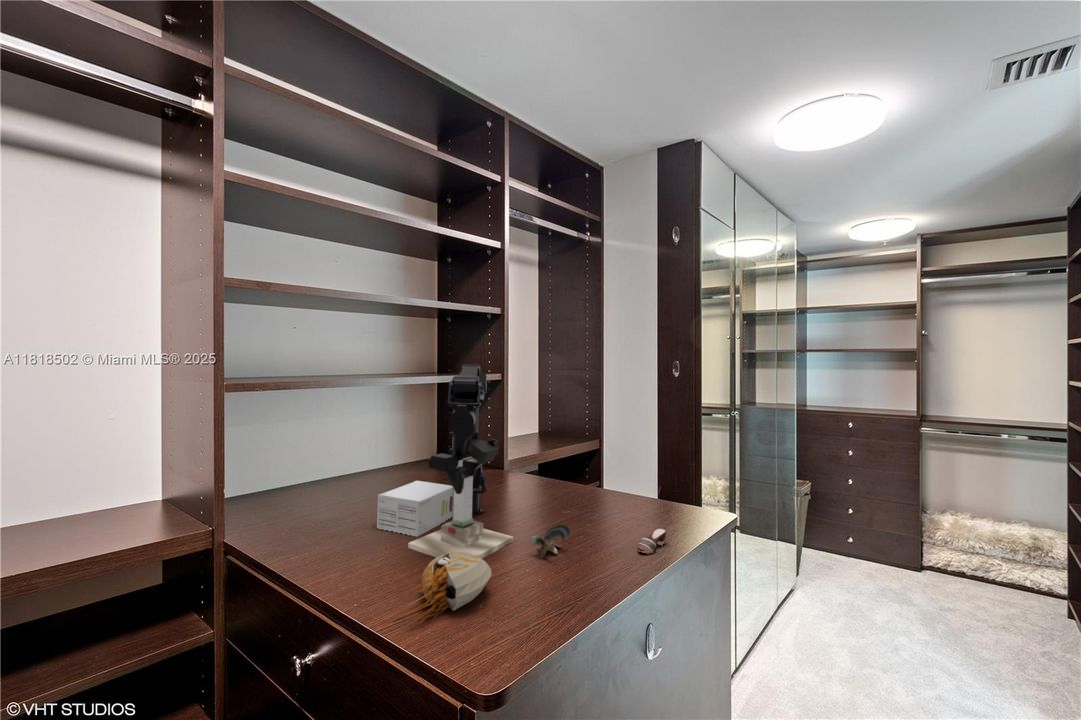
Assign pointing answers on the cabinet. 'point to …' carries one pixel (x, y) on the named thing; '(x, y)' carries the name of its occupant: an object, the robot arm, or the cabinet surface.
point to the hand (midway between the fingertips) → (463, 491)
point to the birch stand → (461, 540)
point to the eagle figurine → (551, 539)
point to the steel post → (463, 503)
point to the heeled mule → (653, 539)
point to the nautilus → (452, 581)
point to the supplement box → (415, 507)
